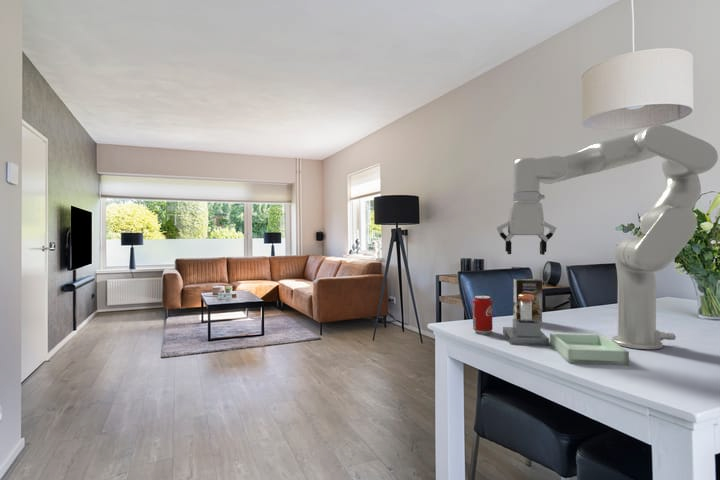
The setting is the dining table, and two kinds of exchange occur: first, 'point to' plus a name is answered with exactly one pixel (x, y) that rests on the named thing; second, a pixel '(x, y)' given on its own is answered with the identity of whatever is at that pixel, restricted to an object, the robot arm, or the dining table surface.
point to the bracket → (525, 333)
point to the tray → (589, 349)
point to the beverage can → (482, 314)
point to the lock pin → (526, 307)
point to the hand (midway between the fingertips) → (525, 254)
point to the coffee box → (528, 288)
